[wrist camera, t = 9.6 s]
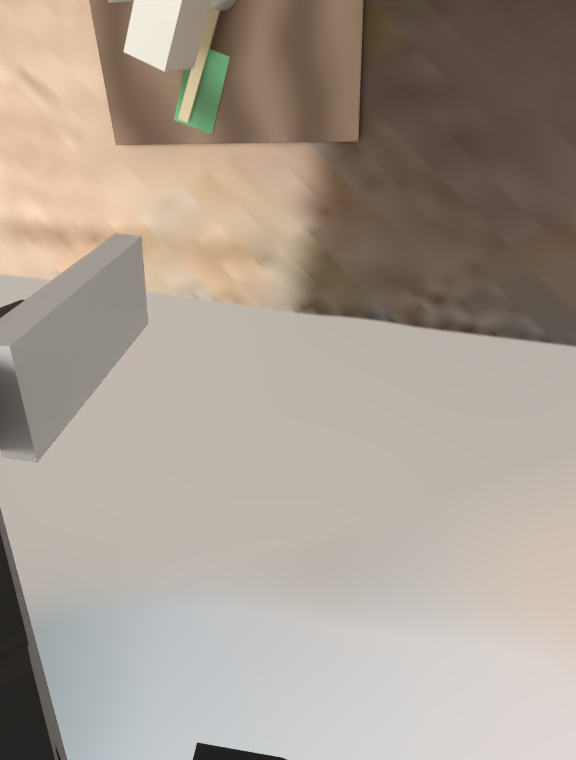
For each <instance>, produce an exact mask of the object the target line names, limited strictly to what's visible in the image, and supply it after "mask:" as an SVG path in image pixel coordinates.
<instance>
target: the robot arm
mask: <svg viewBox="0 0 576 760" xmlns="http://www.w3.org/2000/svg"><path fill="white" fill-rule="evenodd" d="M147 324H148V315H147V303H146V289H145V277H144V264H143V251H142V238H141V237H139V236H130V235H121V234H115V235H113V236H112V237H110V238H109V239H108V240H106V241H105V242H104V243H102V244H101V245H100V246H98V247H97V248H95V249H94V250H93V251H91V252H90V253H89V254H87V255H86V256H85V257H83V258H82V259H80V260H79V261H78V262H76V263H75V264H74V265H72V266H71V267H70V268H68V269H67V270H65V271H64V272H63V273H61V274H60V275H59V276H57V277H56V278H55V279H53V280H52V281H50V282H49V283H48V284H46V285H45V286H44V287H42V288H41V289H40V290H38V291H37V292H35V293H34V294H33V295H31V296H30V297H29V298H27V299H26V300H20V301H17V302H14V303H12V304H9V305H6V306H4V307H1V308H0V451H1V454H2V457H4V458H11V459H19V460H26V461H32V462H38V461H39V459H40V458H41V457H42V456H43V455H44V453H45V452H46V451H47V450H48V448H49V447H50V446H51V445H52V443H53V442H54V441H55V439H56V438H57V437H58V436H59V434H60V433H61V432H62V431H63V430H64V428H65V427H66V426H67V424H68V423H69V422H70V421H71V420H72V418H73V417H74V416H75V415H76V413H77V412H78V411H79V410H80V408H81V407H82V406H83V404H84V403H85V402H86V401H87V400H88V398H89V397H90V396H91V394H92V393H93V392H94V391H95V389H96V388H97V387H98V386H99V384H100V383H101V382H102V381H103V379H104V378H105V377H106V376H107V374H108V373H109V372H110V371H111V369H112V368H113V367H114V366H115V364H116V363H117V362H118V361H119V359H120V358H121V357H122V356H123V354H124V353H125V352H126V351H127V349H128V348H129V347H130V345H131V344H132V343H133V342H134V341H135V339H136V338H137V337H138V336H139V334H140V333H141V332H142V331H143V329H144V328H145V327H146V326H147ZM0 760H67V758H66V754H65V750H64V746H63V743H62V739H61V735H60V731H59V727H58V724H57V720H56V716H55V713H54V709H53V705H52V701H51V697H50V694H49V690H48V686H47V682H46V678H45V675H44V671H43V667H42V663H41V660H40V657H39V652H38V649H37V645H36V641H35V637H34V633H33V629H32V626H31V622H30V618H29V615H28V611H27V607H26V603H25V600H24V596H23V592H22V588H21V584H20V580H19V577H18V573H17V569H16V565H15V562H14V558H13V554H12V550H11V546H10V543H9V539H8V535H7V531H6V528H5V524H4V520H3V516H2V513H1V509H0ZM193 760H286V759H284V758H281V757H274V756H269V755H264V754H258V753H252V752H247V751H241V750H235V749H230V748H225V747H219V746H213V745H207V744H202V743H197V745H196V750H195V754H194V758H193Z"/></svg>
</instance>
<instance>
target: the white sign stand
mask: <svg viewBox="0 0 576 760" xmlns="http://www.w3.org/2000/svg"><path fill="white" fill-rule="evenodd" d="M235 2H236V0H134V2H133V7H132V12H131V17H130V22H129V27H128V32H127V37H126V42H125V47H124V51H123V52H125V53H127V54H129V55H131V56H133V57H135V58H137V59H139V60H141V61H143V62H145V63H148V64H150V65H152V66H154V67H156V68H158V69H160V70H162V71H164V72H166V71H175V70H185V69H191V72H190V75H189V79H188V83H187V87H186V90H185V94H184V98H183V101H182V105H181V109H180V112H179V116H178V119H180V120H182V121H184V122H186V123H189V120H190V116H191V113H192V109H193V106H194V102H195V99H196V95H197V92H198V88H199V85H200V81H201V77H202V74H203V70H204V67H205V63H206V60H207V56H208V53H209V49H210V46H211V42H212V38H213V35H214V31H215V28H216V24H217V21H218V17H219V14H220V11H226V10H228V9H230V8H231V7H232V6H233V5H234V4H235Z"/></svg>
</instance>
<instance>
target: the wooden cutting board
mask: <svg viewBox="0 0 576 760" xmlns="http://www.w3.org/2000/svg"><path fill="white" fill-rule="evenodd" d="M89 1H90V7H91V12H92V18H93V23H94V28H95V34H96V39H97V45H98V50H99V56H100V61H101V66H102V72H103V77H104V83H105V88H106V94H107V99H108V104H109V110H110V115H111V121H112V126H113V132H114V137H115V143H116V145H152V144H218V143H284V142H350V141H358V136H359V108H360V81H361V53H362V26H363V0H236V2H235V4H234V5H233V6H232V7H231V8H230V9H228V10H226V11H220V14H219V17H218V21H217V24H216V28H215V31H214V35H213V38H212V42H211V46H210V49H209V53H208V56H207V60H206V63H205V67H204V70H203V74H202V77H201V81H200V85H199V88H198V92H197V95H196V99H195V102H194V106H193V109H192V113H191V116H190V120H189V123H186V122H184V121H182V120H180V119H178V116H179V112H180V109H181V105H182V101H183V98H184V94H185V90H186V87H187V83H188V79H189V75H190V72H191V69H185V70H175V71H166V72H164V71H162V70H160V69H158V68H156V67H154V66H152V65H150V64H148V63H145V62H143V61H141V60H139V59H137V58H135V57H133V56H131V55H129V54H127V53H125V52H123V51H124V47H125V42H126V37H127V32H128V27H129V22H130V17H131V12H132V7H133V2H134V0H89Z"/></svg>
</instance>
